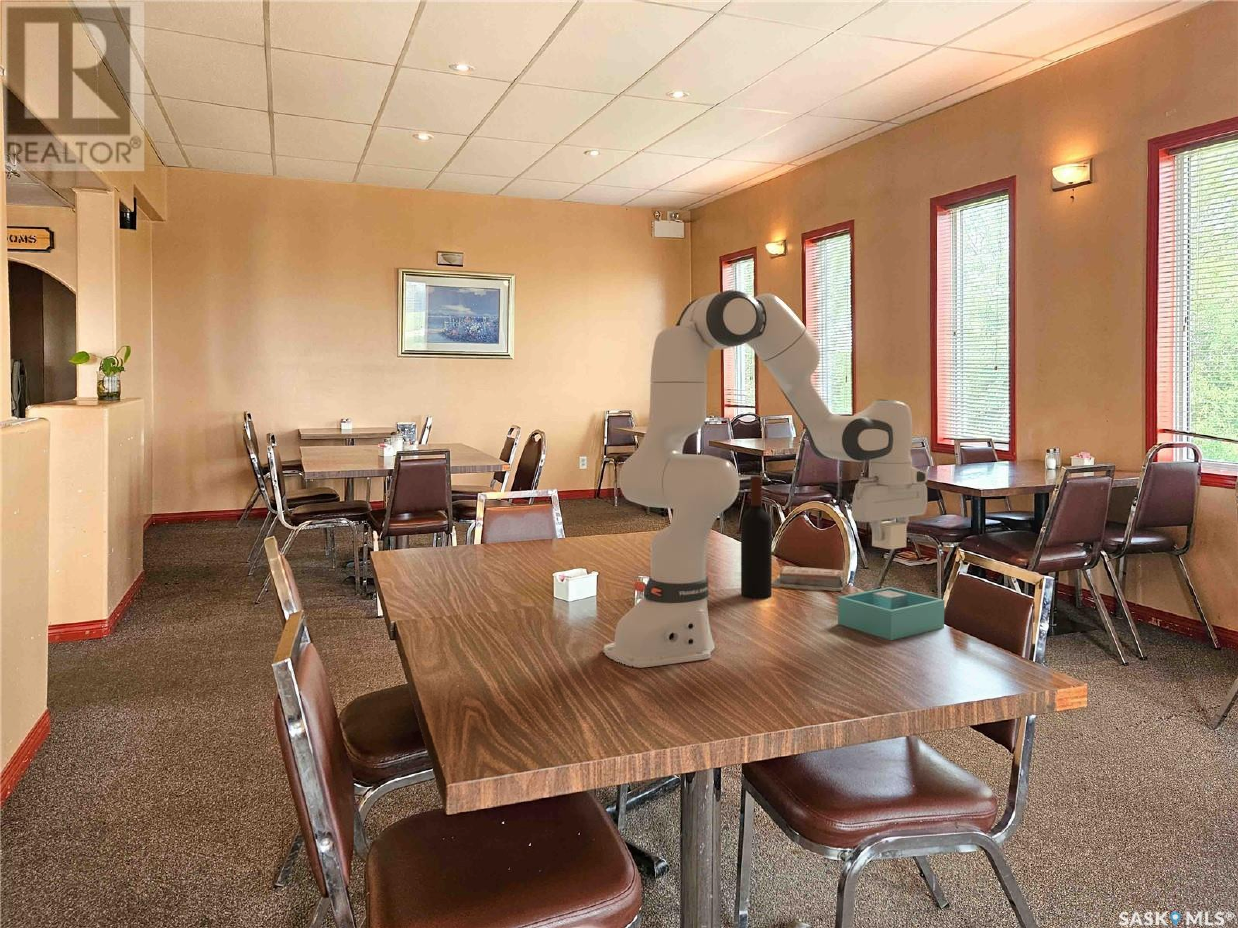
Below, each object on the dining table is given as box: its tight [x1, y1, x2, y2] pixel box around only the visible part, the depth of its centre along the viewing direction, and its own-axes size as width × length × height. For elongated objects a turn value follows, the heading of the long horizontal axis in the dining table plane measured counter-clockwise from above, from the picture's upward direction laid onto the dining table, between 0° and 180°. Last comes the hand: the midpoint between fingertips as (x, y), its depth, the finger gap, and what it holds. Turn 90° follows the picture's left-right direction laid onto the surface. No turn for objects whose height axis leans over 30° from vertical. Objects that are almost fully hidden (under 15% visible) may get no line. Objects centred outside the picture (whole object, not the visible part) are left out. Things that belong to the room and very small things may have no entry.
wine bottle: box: [740, 475, 773, 600], centre depth 209 cm, size 8×8×30 cm
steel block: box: [873, 590, 907, 610], centre depth 181 cm, size 5×5×6 cm
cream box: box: [871, 520, 908, 550], centre depth 181 cm, size 5×5×5 cm
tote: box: [837, 586, 945, 641], centre depth 181 cm, size 17×15×6 cm
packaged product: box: [772, 565, 847, 592], centre depth 220 cm, size 18×5×10 cm
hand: (889, 538), depth 181 cm, fingers closed on cream box, 5 cm apart
